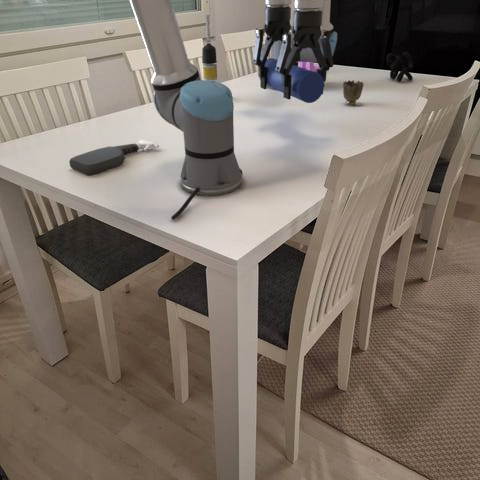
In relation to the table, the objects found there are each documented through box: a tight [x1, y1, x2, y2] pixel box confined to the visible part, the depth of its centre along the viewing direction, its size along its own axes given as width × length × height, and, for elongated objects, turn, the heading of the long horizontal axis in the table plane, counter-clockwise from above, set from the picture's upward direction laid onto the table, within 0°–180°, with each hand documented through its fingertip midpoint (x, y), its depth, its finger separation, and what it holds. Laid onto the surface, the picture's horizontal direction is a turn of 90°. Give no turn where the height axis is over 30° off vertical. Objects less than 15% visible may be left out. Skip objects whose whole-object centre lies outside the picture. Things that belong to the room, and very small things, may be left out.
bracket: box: [299, 62, 321, 72], centre depth 218 cm, size 13×6×7 cm, turn 143°
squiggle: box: [385, 51, 414, 83], centre depth 198 cm, size 11×10×15 cm
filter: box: [201, 14, 218, 82], centre depth 171 cm, size 6×6×30 cm
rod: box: [258, 57, 325, 104], centre depth 133 cm, size 24×8×8 cm, turn 25°
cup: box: [342, 80, 365, 106], centre depth 166 cm, size 8×7×8 cm
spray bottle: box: [68, 139, 160, 177], centre depth 124 cm, size 3×11×24 cm
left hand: (303, 95), depth 128 cm, fingers open, 10 cm apart
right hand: (276, 86), depth 141 cm, fingers closed on rod, 8 cm apart
